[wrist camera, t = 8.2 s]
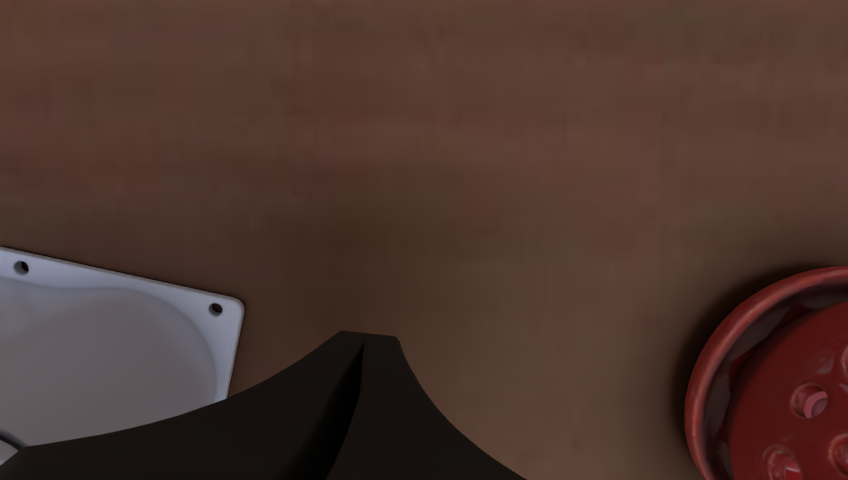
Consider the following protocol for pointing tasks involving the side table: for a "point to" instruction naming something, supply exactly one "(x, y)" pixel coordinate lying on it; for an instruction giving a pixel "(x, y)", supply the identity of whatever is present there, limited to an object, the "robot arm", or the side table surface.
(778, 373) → the flower pot
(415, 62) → the side table surface
